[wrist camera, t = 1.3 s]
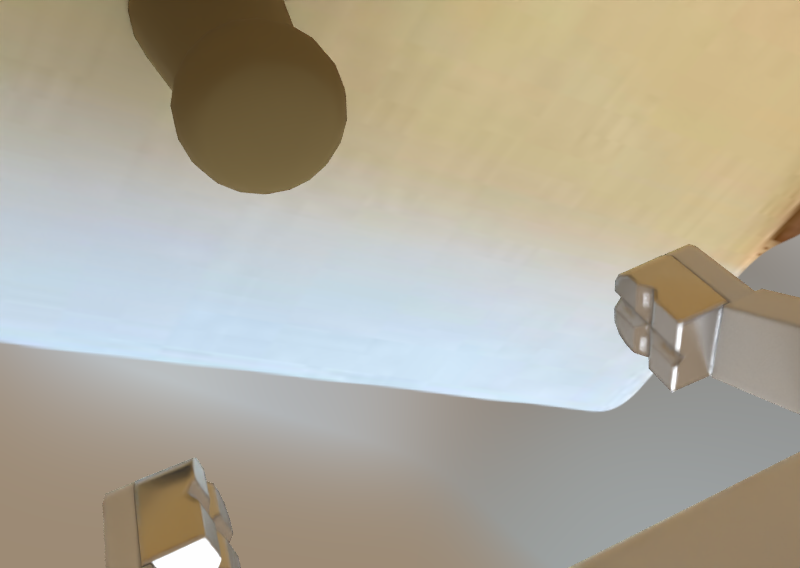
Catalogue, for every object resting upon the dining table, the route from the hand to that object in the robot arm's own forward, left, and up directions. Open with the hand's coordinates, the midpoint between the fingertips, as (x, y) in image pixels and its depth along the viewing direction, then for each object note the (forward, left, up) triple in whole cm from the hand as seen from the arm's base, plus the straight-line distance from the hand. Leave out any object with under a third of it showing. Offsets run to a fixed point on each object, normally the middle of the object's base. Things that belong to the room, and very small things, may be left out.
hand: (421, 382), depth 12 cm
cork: (0, 0, -21) cm, 21 cm away
